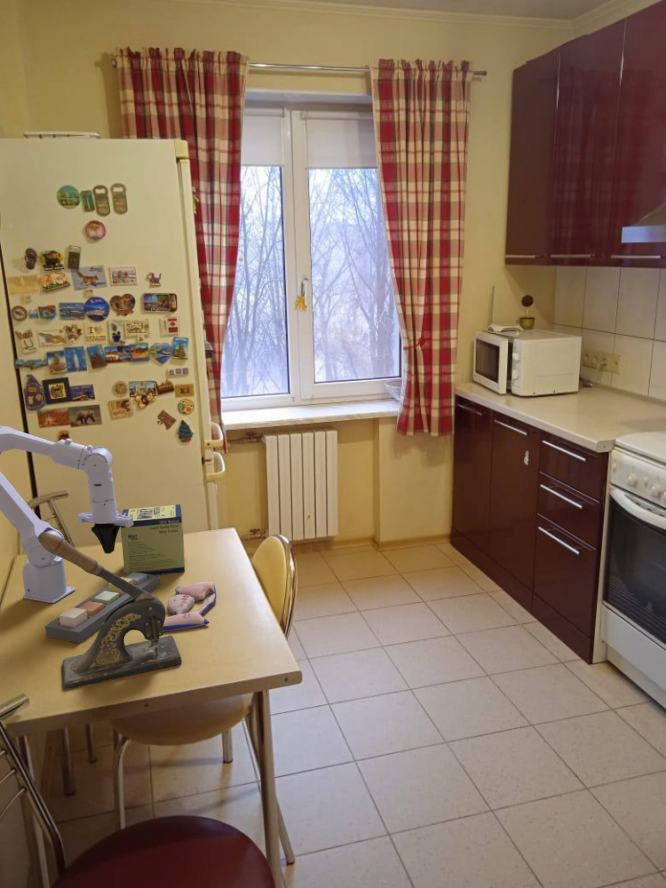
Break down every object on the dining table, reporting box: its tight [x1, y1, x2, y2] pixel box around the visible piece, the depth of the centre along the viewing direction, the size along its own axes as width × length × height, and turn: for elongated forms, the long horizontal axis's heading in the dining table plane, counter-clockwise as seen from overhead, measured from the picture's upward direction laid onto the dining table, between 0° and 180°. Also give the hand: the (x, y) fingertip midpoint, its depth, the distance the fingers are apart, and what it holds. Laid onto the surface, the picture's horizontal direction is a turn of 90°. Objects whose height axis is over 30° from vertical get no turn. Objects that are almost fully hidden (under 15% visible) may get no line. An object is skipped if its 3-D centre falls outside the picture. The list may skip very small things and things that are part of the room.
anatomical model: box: [163, 581, 217, 632], centre depth 162 cm, size 20×3×15 cm
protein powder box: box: [120, 504, 186, 576], centre depth 184 cm, size 10×16×16 cm
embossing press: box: [38, 532, 183, 690], centre depth 136 cm, size 11×24×30 cm, turn 109°
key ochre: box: [108, 576, 133, 595], centre depth 168 cm, size 4×4×3 cm
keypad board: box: [44, 571, 161, 644], centre depth 163 cm, size 9×30×2 cm, turn 160°
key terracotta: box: [79, 601, 104, 616], centre depth 158 cm, size 4×4×3 cm
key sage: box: [94, 591, 119, 605], centre depth 163 cm, size 4×4×3 cm
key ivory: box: [58, 606, 88, 628], centre depth 152 cm, size 4×4×3 cm
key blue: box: [125, 572, 147, 585], centre depth 173 cm, size 4×4×3 cm
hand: (109, 552), depth 170 cm, fingers closed
